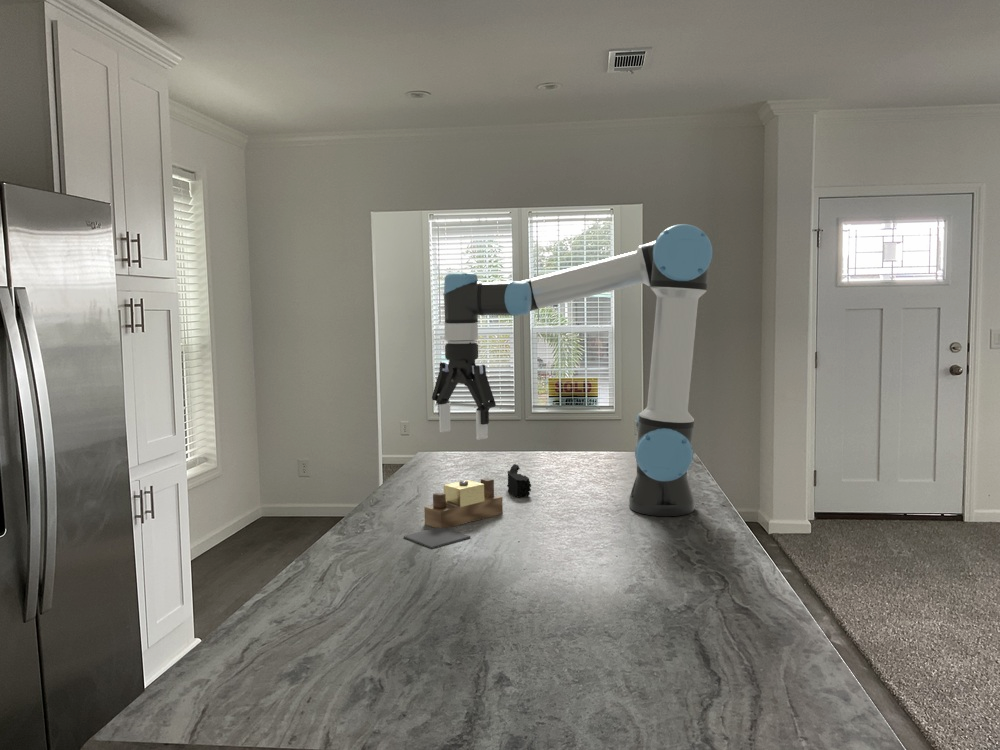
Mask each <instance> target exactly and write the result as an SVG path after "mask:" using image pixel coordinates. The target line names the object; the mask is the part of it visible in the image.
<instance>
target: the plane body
mask: <svg viewBox="0 0 1000 750" xmlns="http://www.w3.org/2000/svg"><path fill="white" fill-rule="evenodd" d="M480 483H482V484H484V501H483V502H479V503H475V504H471V505H467V506H463V507H458V506H456V505H453V504H450V503H447V502H446V494H445V493H444V492H435V493H433V494H432V504H430V505H426V506H424V510H423V511H424V512H423V513H424V525H426V526H429V527H432V528H434V527H435V528H436V527H439V528H443V527H446V528H449V527H450V528H453V526H454V527H457V526H460V524H461V525H464V524H463V523H465V524H467V522H469V523H472V522H471V521H473V522H476V521H475V520H477V521H479V519H480V520H484V519H488V518H492V517H495V516H498V515H499V516H500V515H503V513H504V512H503V511H504V509H503V505H504V504H503V496H501V495H496V494H495V480H494V478H489V477H486V478H480ZM487 517H488V518H487ZM483 518H484V519H483ZM450 528H449V529H450Z"/></svg>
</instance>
